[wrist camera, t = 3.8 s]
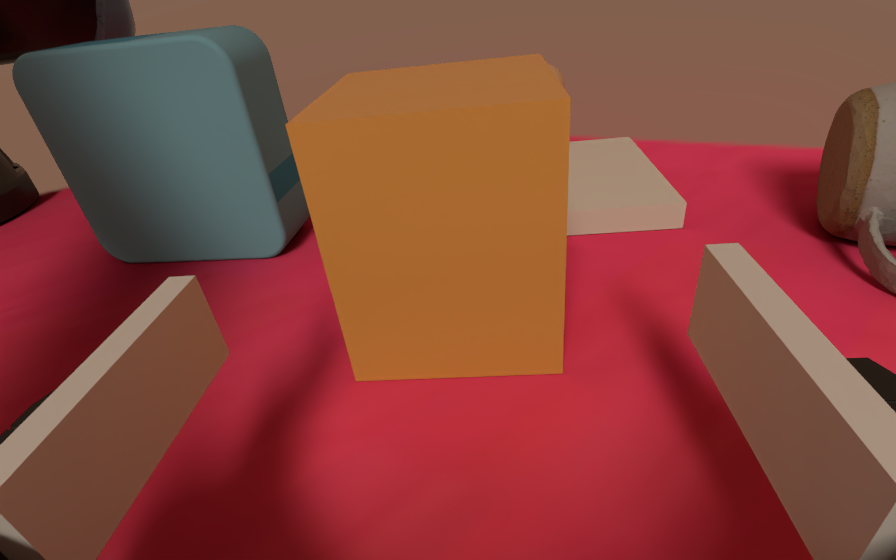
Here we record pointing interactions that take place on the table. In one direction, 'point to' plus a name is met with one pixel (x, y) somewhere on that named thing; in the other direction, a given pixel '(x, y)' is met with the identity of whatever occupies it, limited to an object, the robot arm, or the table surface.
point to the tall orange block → (442, 215)
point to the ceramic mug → (863, 178)
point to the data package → (170, 142)
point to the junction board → (617, 188)
